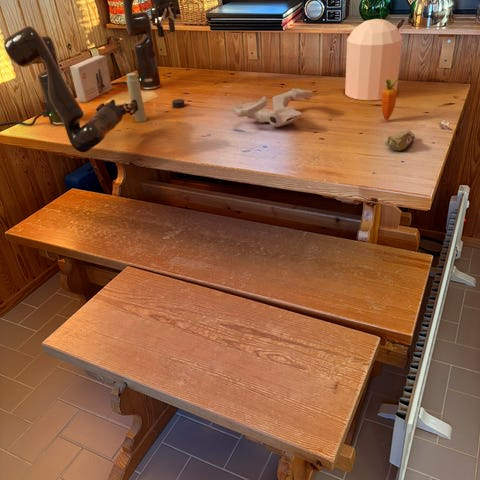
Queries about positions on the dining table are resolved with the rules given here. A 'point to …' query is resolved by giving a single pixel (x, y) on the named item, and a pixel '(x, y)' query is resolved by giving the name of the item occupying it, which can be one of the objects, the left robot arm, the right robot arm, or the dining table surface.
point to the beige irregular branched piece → (280, 112)
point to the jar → (136, 96)
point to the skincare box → (91, 78)
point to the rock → (400, 140)
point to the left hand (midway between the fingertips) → (124, 102)
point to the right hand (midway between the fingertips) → (167, 34)
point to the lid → (178, 103)
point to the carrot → (388, 99)
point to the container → (372, 59)
